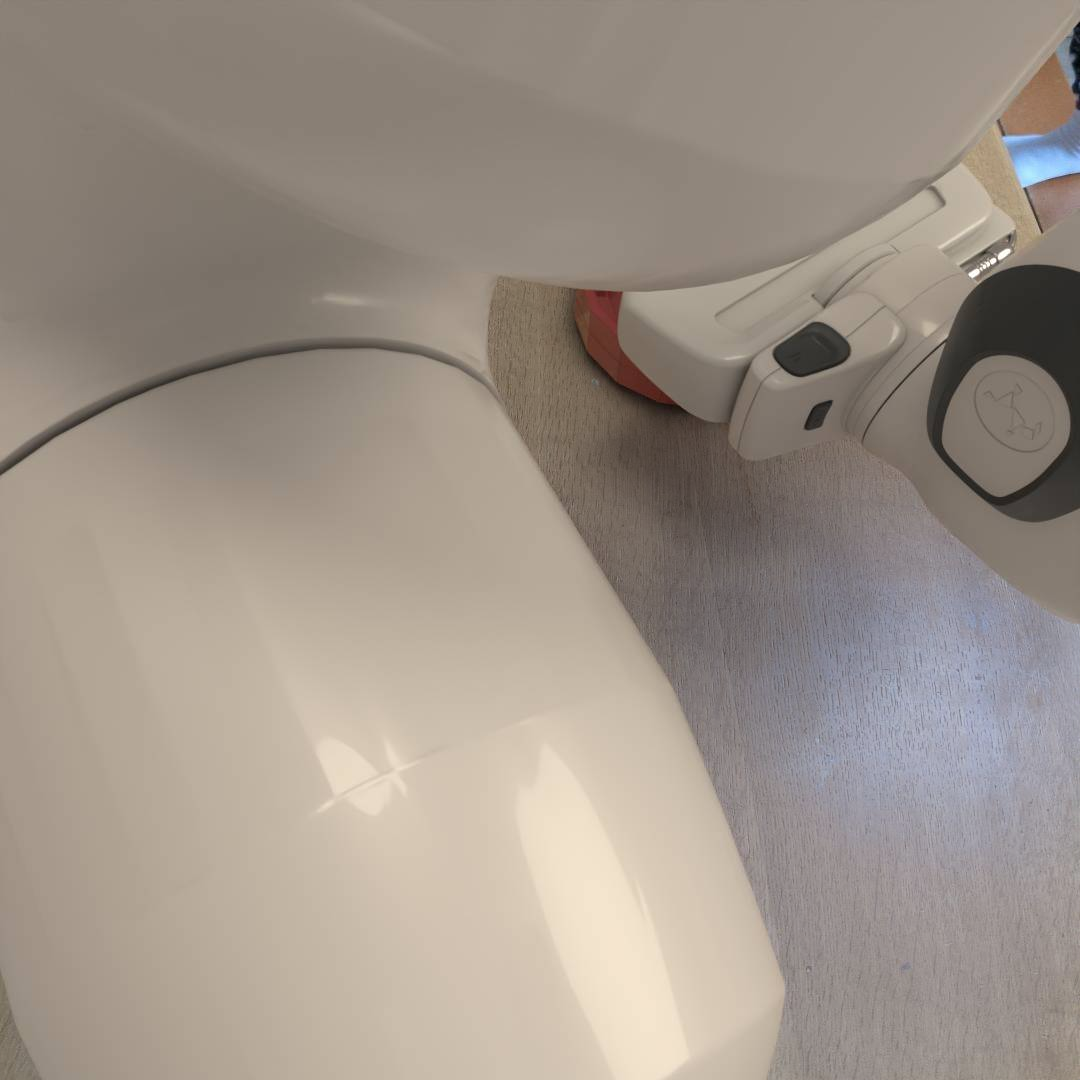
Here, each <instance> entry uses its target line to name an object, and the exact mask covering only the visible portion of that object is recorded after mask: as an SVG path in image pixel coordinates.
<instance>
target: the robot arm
mask: <svg viewBox="0 0 1080 1080" xmlns="http://www.w3.org/2000/svg"><path fill="white" fill-rule="evenodd" d="M1079 23H1080V0H0V974H1V977H2V982H3V984H4V988H5V992H6V995H7V999H8V1003H9V1008H10V1010H11V1014H12V1018H13V1021H14V1025H15V1027H16V1031H17V1032H18V1034H19V1036H20V1038H21V1040H22V1043H23V1044H24V1046H25V1048H26V1051H27V1052H28V1054H29V1056H30V1057H29V1058H31V1060H32V1063H33V1065H34V1067H35V1068H36V1071H37V1073H38V1074H39V1077H40V1079H41V1080H767V1079H768V1075H769V1072H770V1068H771V1065H772V1061H773V1058H774V1056H775V1055H774V1054H775V1050H776V1048H777V1047H776V1046H777V1044H778V1039H779V1034H780V1028H781V1024H782V1017H783V1012H784V1006H785V1000H786V993H787V989H786V983H785V980H784V977H783V973H782V971H781V968H780V965H779V962H778V960H777V956H776V954H775V951H774V948H773V945H772V942H771V939H770V936H769V933H768V931H767V928H766V925H765V921H764V919H763V917H762V912H761V911H760V908H759V904H758V902H757V900H756V896H755V894H754V891H753V888H752V886H751V882H750V880H749V878H748V875H747V873H746V869H745V867H744V864H743V862H742V861H743V860H742V858H741V856H740V853H739V850H738V848H737V847H738V846H737V845H736V842H735V839H734V837H733V834H732V830H731V828H730V825H729V823H728V820H727V818H726V815H725V813H724V810H723V807H722V805H721V802H720V800H719V798H718V795H717V792H716V789H715V787H714V785H713V782H712V779H711V777H710V774H709V772H708V768H707V766H706V763H705V761H704V758H703V756H702V754H701V751H700V748H699V746H698V744H697V741H696V738H695V736H694V734H693V732H692V729H691V727H690V723H689V722H688V718H687V717H686V714H685V712H684V710H683V708H682V705H681V703H680V699H679V697H678V695H677V693H676V691H675V689H674V687H673V685H672V683H671V682H670V680H669V678H668V676H667V675H666V673H665V671H664V670H663V668H662V666H661V665H660V663H659V661H658V660H657V657H655V655H654V653H653V652H652V651H651V649H650V647H649V646H648V644H647V642H646V640H645V639H644V637H643V635H642V633H641V632H640V630H639V629H638V627H637V625H636V624H635V622H634V621H633V619H632V617H631V615H630V614H629V612H628V611H627V609H626V607H625V606H624V603H622V600H621V599H620V598H619V595H618V594H617V592H616V591H615V589H614V588H613V587H612V585H611V583H610V581H609V580H608V578H607V577H606V574H605V573H604V571H603V570H602V568H601V567H600V565H599V563H598V562H597V560H596V558H595V557H594V554H593V553H592V552H591V550H590V549H589V547H588V545H587V543H586V542H585V540H584V538H583V537H582V535H581V534H580V532H579V530H578V528H577V527H576V525H575V524H574V522H573V520H572V519H571V516H570V515H569V514H568V512H567V510H566V509H565V507H564V505H563V504H562V502H561V500H560V499H559V497H558V496H557V494H556V493H555V491H554V489H553V488H552V486H551V484H550V483H549V481H548V479H547V478H546V476H545V474H544V473H543V470H541V468H540V466H539V465H538V463H537V461H536V459H535V458H534V456H533V455H532V453H531V451H530V450H529V448H528V446H527V445H526V443H525V442H524V440H523V438H522V437H521V435H520V433H519V432H518V430H517V429H516V427H515V425H514V423H513V421H512V420H511V418H510V417H509V413H508V409H507V407H506V405H505V402H504V401H503V398H502V396H501V395H500V393H499V391H498V389H497V387H496V385H495V382H494V379H493V375H492V369H491V366H490V356H489V320H490V311H491V305H492V301H493V296H494V292H495V290H496V287H497V286H498V283H499V281H500V278H501V277H502V278H508V279H512V280H519V281H524V282H530V283H534V284H539V285H546V286H552V287H559V288H568V289H575V290H576V289H585V290H602V291H620V292H623V293H622V297H621V303H620V308H619V314H618V341H619V344H620V347H621V349H622V350H623V352H624V353H625V354H626V355H627V357H628V358H629V359H630V360H631V361H632V362H633V363H634V364H635V365H636V366H637V367H638V368H639V369H640V370H641V371H642V372H643V373H644V374H645V375H646V376H647V377H648V378H649V379H650V380H651V381H652V382H653V383H654V384H655V385H656V386H657V387H659V388H660V389H661V390H662V391H663V392H664V393H665V394H666V395H668V396H669V397H670V398H671V399H672V400H673V401H675V402H676V403H677V404H678V405H677V406H680V407H681V408H682V409H683V410H685V411H686V412H687V413H689V414H691V415H692V416H694V417H696V418H698V419H700V420H703V421H705V422H711V423H728V422H729V427H728V434H727V439H728V440H727V441H728V442H729V444H730V446H731V447H732V448H733V450H734V451H735V452H736V453H737V454H738V455H739V456H741V457H742V459H745V460H746V461H751V462H759V461H763V460H768V459H771V458H773V457H777V456H780V455H785V454H787V453H791V452H794V451H797V450H801V449H805V448H810V447H812V446H817V445H821V444H826V443H828V442H829V443H830V442H835V441H840V440H841V441H842V440H844V439H848V438H851V437H853V438H854V439H855V440H856V441H857V442H858V443H859V444H860V445H861V446H862V447H863V448H864V449H865V450H866V451H867V452H868V453H870V455H872V456H874V457H876V458H878V459H879V460H882V461H884V462H885V463H888V464H889V465H891V466H893V467H894V469H897V470H898V471H899V472H901V473H902V474H903V476H905V477H906V478H907V480H909V482H910V483H911V484H912V486H913V487H914V489H915V490H916V491H917V493H918V495H919V496H920V499H921V500H922V503H923V505H924V506H925V507H926V509H927V510H928V512H929V513H930V514H931V515H932V516H933V517H934V518H935V519H936V520H937V521H938V522H939V523H940V524H941V525H942V526H943V527H944V528H945V529H946V530H947V531H948V532H949V533H951V534H952V536H953V537H955V538H956V539H957V540H958V541H959V542H960V543H961V544H963V545H964V547H966V549H968V550H969V551H970V552H971V553H972V554H973V555H974V556H976V557H977V558H978V559H979V560H980V561H982V563H983V564H984V565H986V567H988V568H989V569H991V570H992V571H993V572H994V573H995V574H996V575H998V576H999V577H1000V578H1001V579H1003V580H1004V581H1005V582H1006V583H1008V584H1009V585H1010V586H1011V587H1012V588H1014V589H1016V590H1017V591H1018V592H1020V593H1021V594H1022V595H1024V596H1025V597H1027V599H1029V600H1031V601H1032V602H1033V603H1035V604H1036V605H1038V606H1039V607H1041V608H1042V609H1044V610H1046V611H1048V612H1049V613H1051V614H1052V615H1054V616H1056V617H1058V618H1060V619H1062V620H1064V621H1066V622H1068V623H1071V624H1076V625H1079V624H1080V208H1078V209H1077V210H1076V211H1074V212H1072V213H1071V214H1070V215H1069V214H1068V216H1065V217H1064V218H1063V219H1061V220H1059V221H1058V222H1057V223H1055V224H1054V225H1052V226H1051V227H1049V228H1048V229H1046V230H1045V231H1043V232H1042V233H1041V234H1039V235H1038V236H1036V237H1035V238H1033V239H1031V240H1030V241H1029V242H1028V243H1026V244H1024V245H1023V246H1022V247H1020V248H1019V249H1018V250H1016V251H1015V247H1016V244H1017V241H1018V235H1017V234H1018V233H1017V230H1016V228H1017V225H1016V223H1015V221H1014V220H1013V218H1012V217H1010V215H1009V214H1008V213H1006V211H1005V212H1004V210H1002V209H1001V208H1000V207H998V206H997V205H996V204H995V203H993V200H992V198H991V196H990V194H989V193H988V191H987V189H986V187H984V186H983V184H982V183H981V182H980V181H979V179H978V178H977V177H976V176H975V175H974V174H973V173H972V172H971V171H970V169H969V168H968V167H967V166H966V165H965V164H964V163H963V161H964V160H965V159H966V158H967V157H968V156H969V155H970V154H971V153H972V151H973V150H974V149H975V148H976V146H978V144H979V143H980V142H981V140H982V139H983V138H984V137H985V136H986V135H987V133H988V132H989V131H990V129H991V128H992V127H994V125H995V124H996V123H997V121H998V120H999V119H1000V118H1001V116H1002V115H1004V113H1005V112H1006V110H1007V109H1008V108H1009V107H1010V106H1011V104H1012V103H1013V102H1014V101H1015V100H1016V99H1017V97H1018V96H1019V95H1020V94H1021V93H1022V91H1023V90H1024V89H1025V88H1026V87H1027V85H1028V84H1029V83H1030V81H1031V80H1032V79H1033V78H1034V77H1035V75H1036V74H1037V73H1039V71H1040V70H1041V68H1042V67H1043V66H1044V65H1045V63H1047V61H1049V58H1051V56H1052V55H1053V54H1054V52H1056V50H1057V49H1058V48H1059V47H1060V45H1061V44H1062V43H1063V42H1064V40H1065V39H1066V38H1067V37H1068V36H1069V34H1071V32H1072V31H1073V30H1074V28H1075V27H1076V26H1077V25H1078V24H1079Z"/></svg>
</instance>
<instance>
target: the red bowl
mask: <svg viewBox="0 0 1080 1080" xmlns="http://www.w3.org/2000/svg"><path fill="white" fill-rule="evenodd" d="M622 293H623V292H620V291H602V290H585V289H576V288H575V295H574V296H575V297H574V308H573V309H574V311H573V312H574V313H573V316H574V319H575V322H576V325H577V328H578V331H579V333H580V337H581V339H582V342H583V345H584V347H585V350H586V352H587V353H588V355H590V357H592V359H594V360H595V362H596V363H598V365H599V366H600V367H601V368H602V369H603V370H604V371H605V372H606V373H608V375H609V376H610V377H611V378H612V379H613V380H614V381H615V382H616V383H618V385H621V386H623V387H626V388H628V389H630V390H632V391H634V392H636V393H638V394H640V395H642V396H645V397H646V398H649V399H651V400H653V401H655V402H657V403H661V404H669V405H677V406H679V405H678V404H677V403H676V402H675V401H673V400H672V399H671V398H670V397H669V396H668V395H666V394H665V393H664V392H663V391H662V390H661V389H660V388H659V387H657V386H656V385H655V384H654V383H653V382H652V381H651V380H650V379H649V378H648V377H647V376H646V375H645V374H644V373H643V372H642V371H641V370H640V369H639V368H638V367H637V366H636V365H635V364H634V363H633V362H632V361H631V360H630V359H629V358H628V357H627V355H626V354H625V353H624V352H623V350H622V349H621V347H620V344H619V341H618V314H619V308H620V303H621V297H622Z"/></svg>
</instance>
